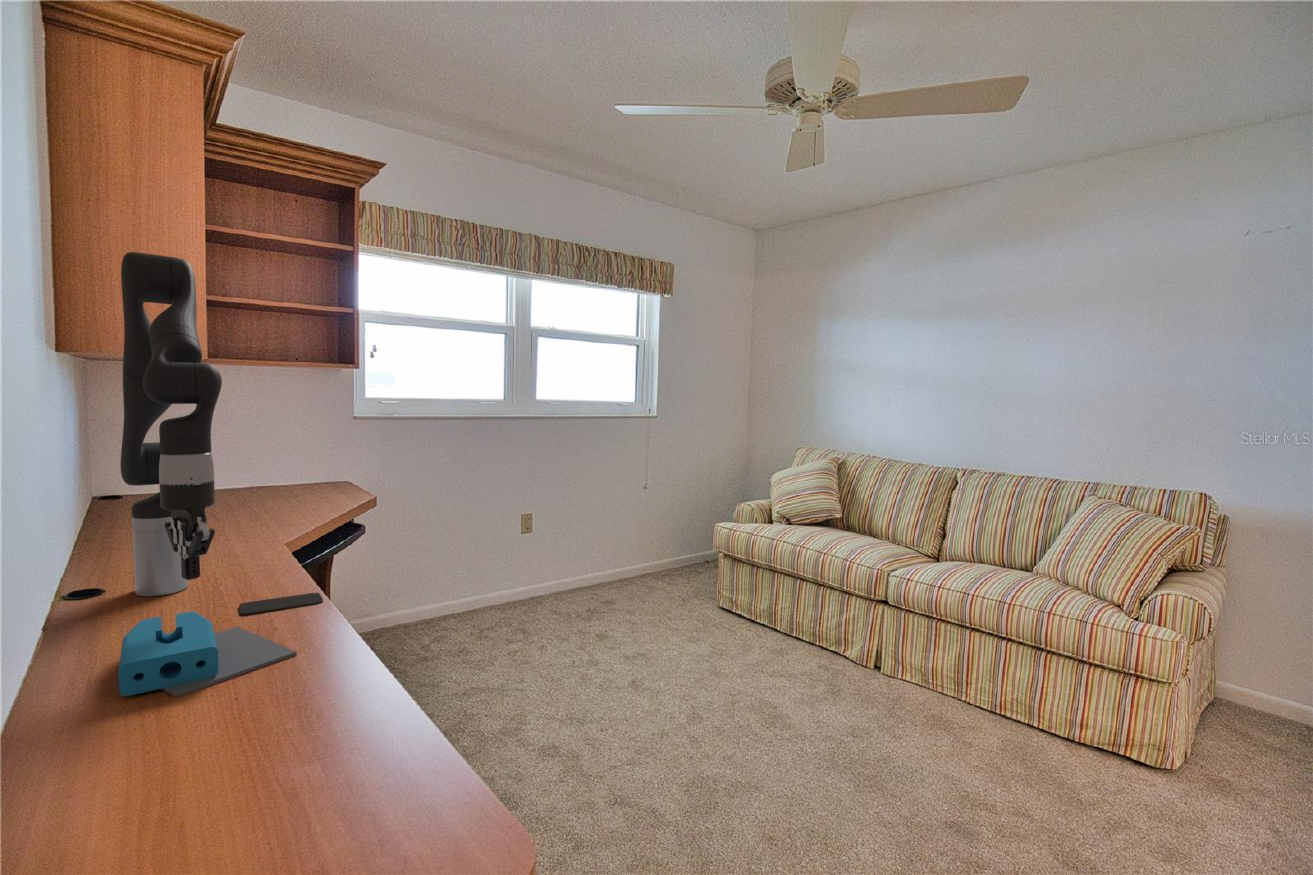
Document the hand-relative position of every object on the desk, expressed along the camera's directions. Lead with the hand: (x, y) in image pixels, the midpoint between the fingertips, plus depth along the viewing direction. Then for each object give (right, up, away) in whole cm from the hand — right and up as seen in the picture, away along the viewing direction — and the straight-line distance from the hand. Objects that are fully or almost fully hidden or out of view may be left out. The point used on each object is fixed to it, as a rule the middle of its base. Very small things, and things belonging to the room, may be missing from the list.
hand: (191, 578), depth 108 cm
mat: (+5, -14, -2) cm, 14 cm away
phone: (+1, -12, +25) cm, 28 cm away
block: (-6, -10, +3) cm, 12 cm away
